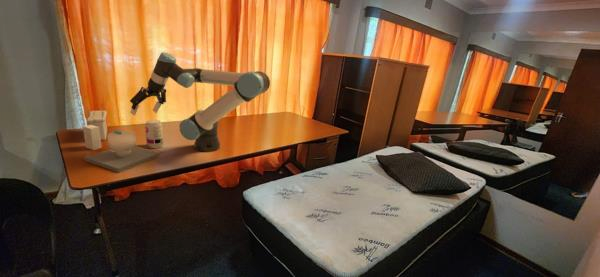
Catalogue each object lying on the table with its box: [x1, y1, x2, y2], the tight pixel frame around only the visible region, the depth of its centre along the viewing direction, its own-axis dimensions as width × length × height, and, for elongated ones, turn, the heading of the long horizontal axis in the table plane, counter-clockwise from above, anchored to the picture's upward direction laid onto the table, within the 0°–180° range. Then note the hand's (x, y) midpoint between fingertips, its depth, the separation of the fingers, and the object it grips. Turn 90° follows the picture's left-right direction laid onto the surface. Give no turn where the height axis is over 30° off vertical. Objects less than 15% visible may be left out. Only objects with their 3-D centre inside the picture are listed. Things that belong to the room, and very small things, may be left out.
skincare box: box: [82, 124, 102, 151], centre depth 126 cm, size 6×4×12 cm
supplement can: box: [144, 119, 164, 149], centre depth 137 cm, size 8×8×15 cm
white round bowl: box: [106, 130, 137, 150], centre depth 118 cm, size 11×11×7 cm
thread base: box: [83, 145, 161, 173], centre depth 120 cm, size 22×22×7 cm
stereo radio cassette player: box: [86, 106, 108, 141], centre depth 140 cm, size 21×8×20 cm, turn 35°
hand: (144, 112), depth 133 cm, fingers open, 13 cm apart
